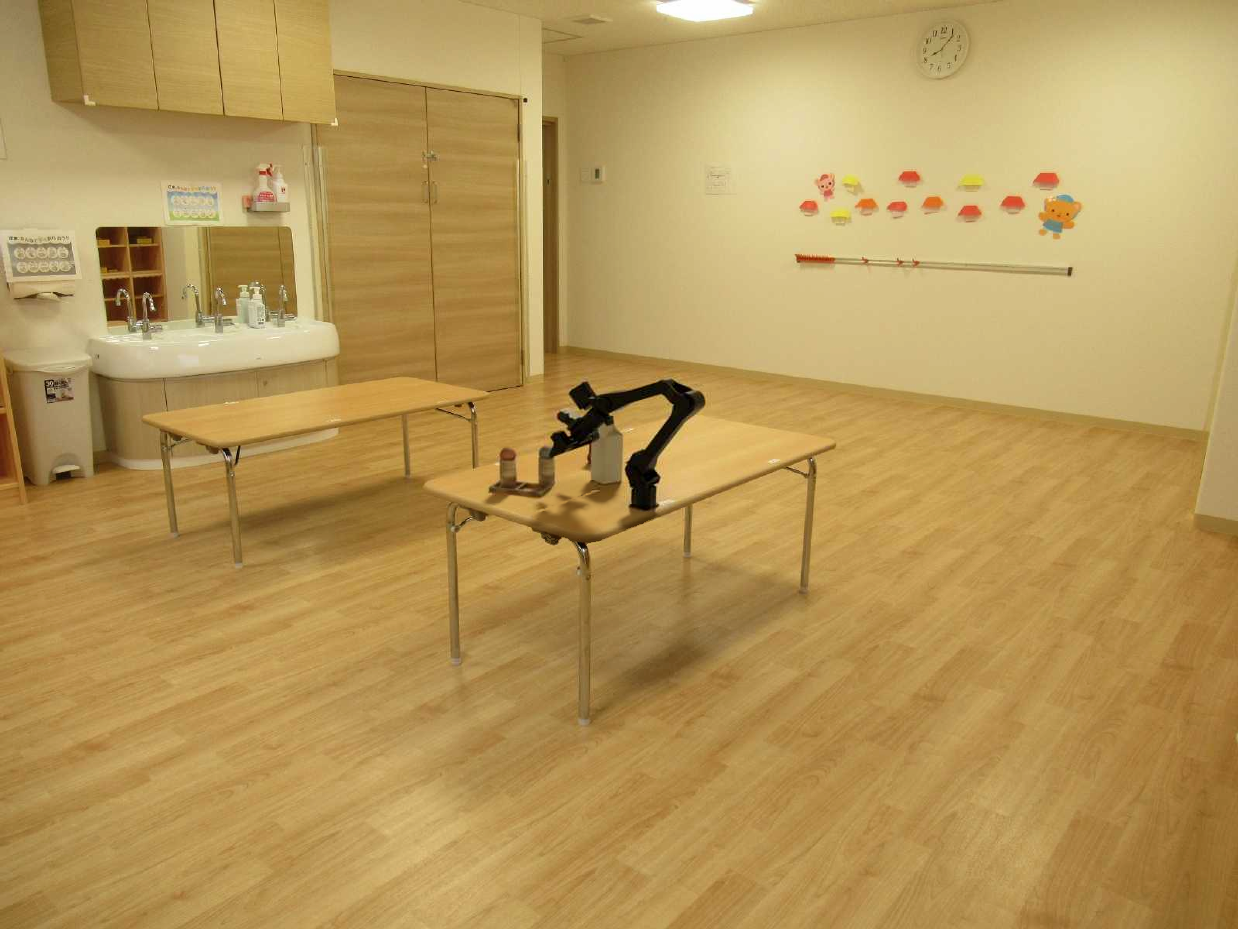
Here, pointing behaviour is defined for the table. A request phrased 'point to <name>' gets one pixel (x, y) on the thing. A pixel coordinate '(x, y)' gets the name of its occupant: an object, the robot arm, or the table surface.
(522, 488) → the doll tray
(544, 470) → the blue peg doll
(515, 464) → the red peg doll
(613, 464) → the milk carton
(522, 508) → the table surface
